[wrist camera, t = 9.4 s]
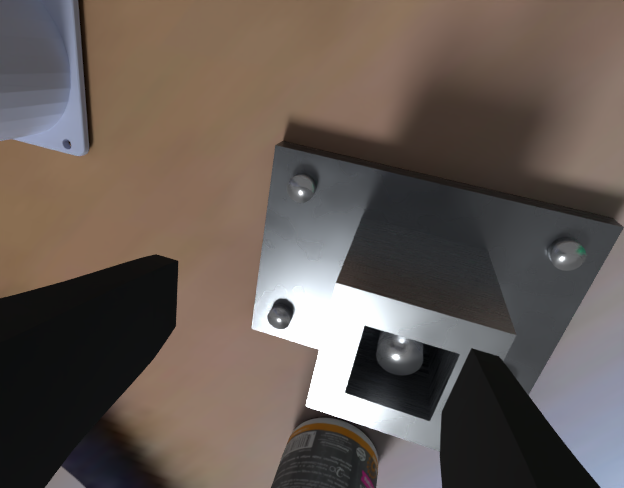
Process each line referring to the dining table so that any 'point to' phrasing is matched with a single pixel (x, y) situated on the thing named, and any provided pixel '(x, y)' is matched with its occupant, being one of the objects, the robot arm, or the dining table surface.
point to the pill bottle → (327, 457)
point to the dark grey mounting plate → (431, 220)
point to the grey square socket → (406, 328)
